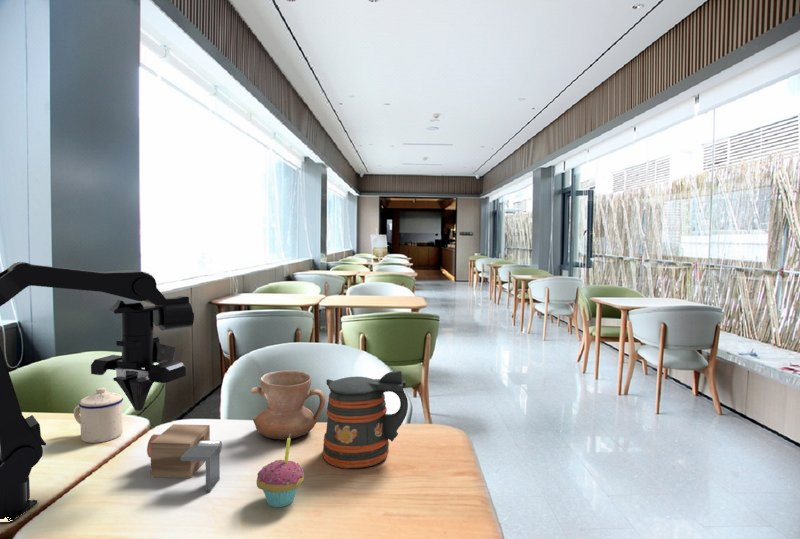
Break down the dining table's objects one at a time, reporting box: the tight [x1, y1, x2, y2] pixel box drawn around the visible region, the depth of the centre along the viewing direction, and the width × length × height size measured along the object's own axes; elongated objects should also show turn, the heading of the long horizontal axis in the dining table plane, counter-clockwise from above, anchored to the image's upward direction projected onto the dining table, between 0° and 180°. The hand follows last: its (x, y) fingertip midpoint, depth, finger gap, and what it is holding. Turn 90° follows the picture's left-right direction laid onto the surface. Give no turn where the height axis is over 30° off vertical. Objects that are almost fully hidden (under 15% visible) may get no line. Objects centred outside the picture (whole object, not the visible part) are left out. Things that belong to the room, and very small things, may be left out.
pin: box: [146, 434, 223, 459], centre depth 107 cm, size 5×14×5 cm, turn 89°
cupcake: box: [256, 434, 305, 508], centre depth 93 cm, size 9×8×12 cm
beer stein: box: [322, 369, 409, 470], centre depth 113 cm, size 19×15×20 cm
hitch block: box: [150, 423, 211, 479], centre depth 107 cm, size 10×8×7 cm
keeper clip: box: [181, 446, 221, 493], centre depth 99 cm, size 5×6×7 cm
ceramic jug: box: [250, 370, 326, 440], centre depth 125 cm, size 18×14×14 cm
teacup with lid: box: [73, 386, 124, 444], centre depth 122 cm, size 12×9×12 cm
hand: (139, 410), depth 103 cm, fingers closed
